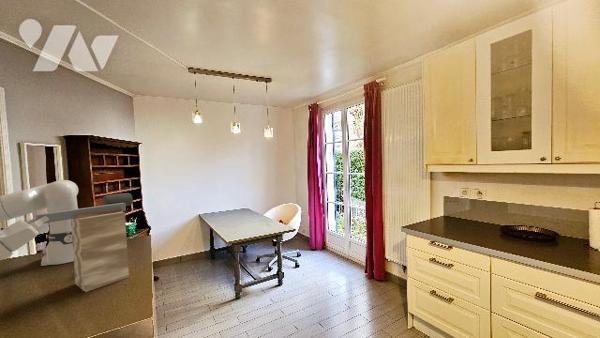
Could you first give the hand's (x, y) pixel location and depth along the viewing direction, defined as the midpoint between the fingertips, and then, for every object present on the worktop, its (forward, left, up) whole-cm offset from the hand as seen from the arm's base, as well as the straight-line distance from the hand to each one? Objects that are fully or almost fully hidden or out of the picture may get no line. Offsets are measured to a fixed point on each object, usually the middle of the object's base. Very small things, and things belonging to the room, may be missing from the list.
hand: (45, 216), depth 91 cm
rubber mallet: (-40, +35, -28) cm, 60 cm away
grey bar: (0, +11, -2) cm, 11 cm away
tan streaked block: (0, +15, -28) cm, 32 cm away
